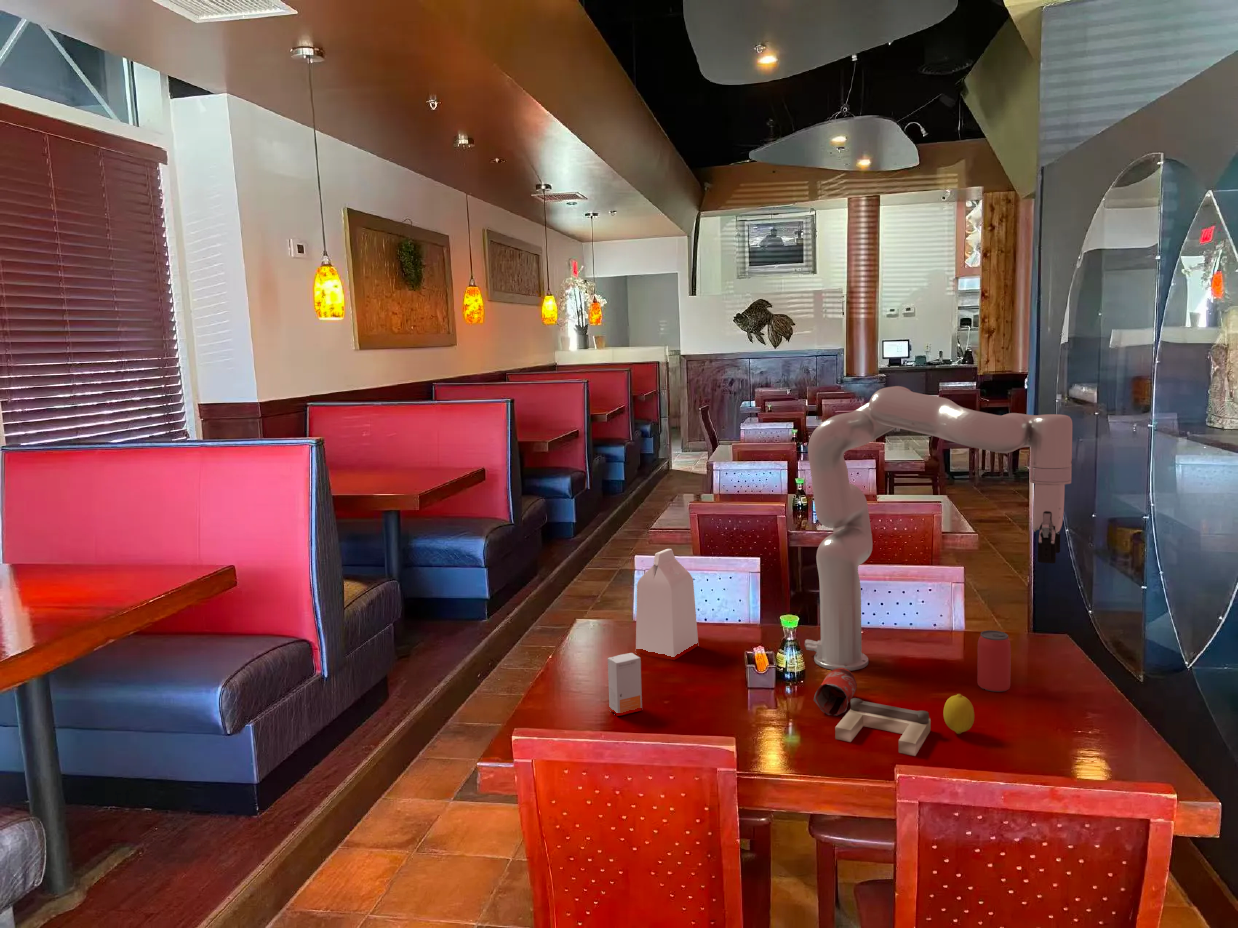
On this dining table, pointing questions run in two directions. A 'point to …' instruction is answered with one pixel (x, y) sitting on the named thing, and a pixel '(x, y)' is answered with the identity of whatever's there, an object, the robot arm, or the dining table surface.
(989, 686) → the beer can
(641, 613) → the milk
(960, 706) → the lemon
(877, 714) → the beige u-shaped frame
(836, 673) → the beverage can
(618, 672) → the skincare box
